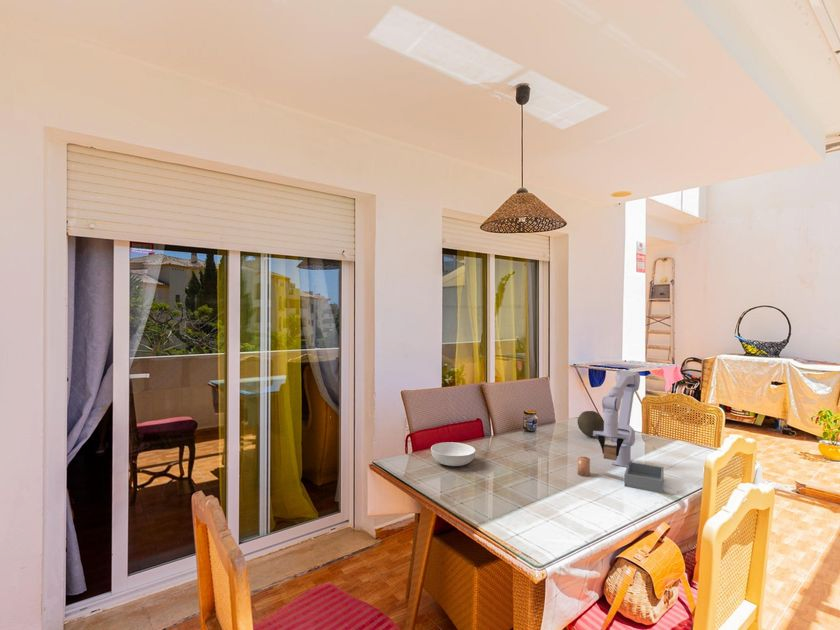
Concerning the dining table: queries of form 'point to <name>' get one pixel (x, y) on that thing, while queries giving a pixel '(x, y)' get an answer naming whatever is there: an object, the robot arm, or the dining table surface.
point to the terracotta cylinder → (583, 466)
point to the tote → (644, 477)
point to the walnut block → (610, 452)
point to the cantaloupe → (590, 423)
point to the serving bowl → (453, 453)
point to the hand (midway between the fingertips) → (610, 454)
